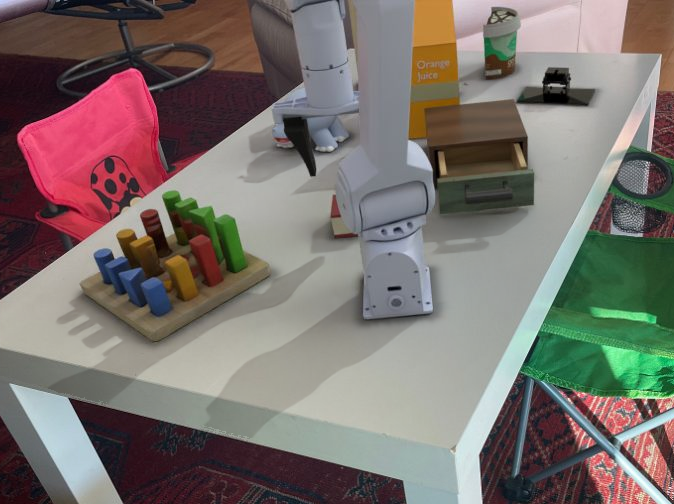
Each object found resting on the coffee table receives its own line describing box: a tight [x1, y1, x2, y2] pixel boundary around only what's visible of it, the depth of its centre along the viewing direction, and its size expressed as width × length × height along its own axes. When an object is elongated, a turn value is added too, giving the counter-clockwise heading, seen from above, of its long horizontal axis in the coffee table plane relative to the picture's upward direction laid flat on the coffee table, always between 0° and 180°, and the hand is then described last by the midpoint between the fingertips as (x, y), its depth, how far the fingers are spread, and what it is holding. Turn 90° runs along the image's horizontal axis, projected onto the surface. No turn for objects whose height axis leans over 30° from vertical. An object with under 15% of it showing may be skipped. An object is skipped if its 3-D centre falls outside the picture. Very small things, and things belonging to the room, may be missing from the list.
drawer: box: [437, 142, 535, 215], centre depth 103 cm, size 17×13×5 cm
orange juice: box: [408, 0, 461, 140], centre depth 119 cm, size 8×9×20 cm
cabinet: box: [424, 98, 529, 189], centre depth 112 cm, size 14×14×6 cm
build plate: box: [516, 66, 596, 107], centre depth 130 cm, size 12×7×5 cm, turn 70°
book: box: [330, 193, 358, 239], centre depth 101 cm, size 6×4×3 cm
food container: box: [482, 6, 522, 81], centre depth 140 cm, size 12×6×10 cm, turn 168°
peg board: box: [79, 189, 271, 342], centre depth 92 cm, size 18×17×9 cm
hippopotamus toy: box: [271, 86, 350, 153], centre depth 122 cm, size 11×15×10 cm
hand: (342, 170), depth 97 cm, fingers open, 7 cm apart
